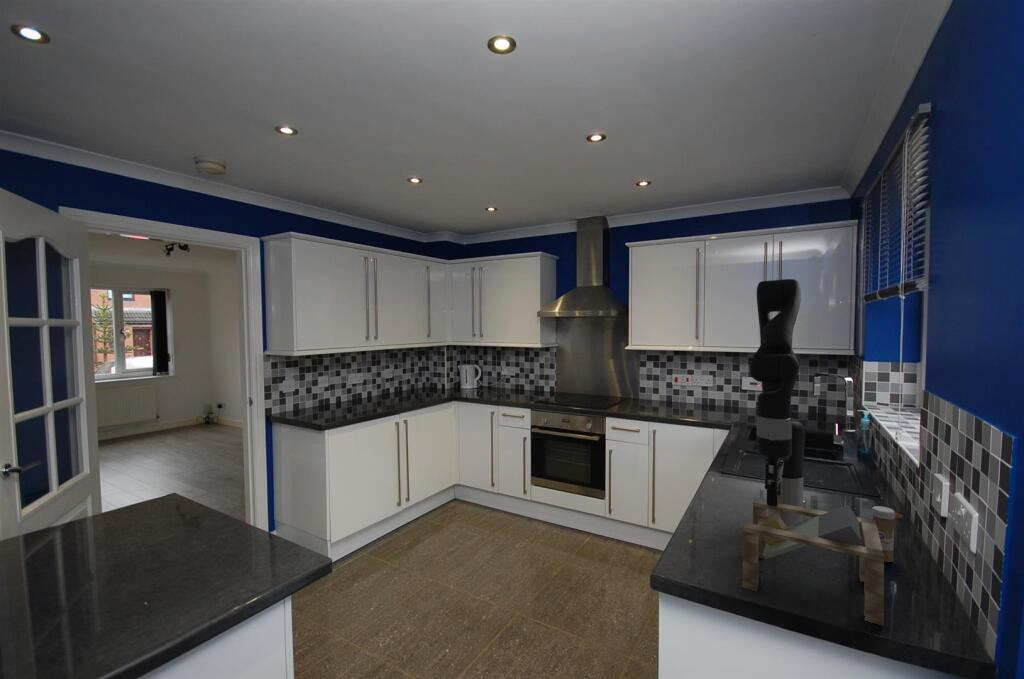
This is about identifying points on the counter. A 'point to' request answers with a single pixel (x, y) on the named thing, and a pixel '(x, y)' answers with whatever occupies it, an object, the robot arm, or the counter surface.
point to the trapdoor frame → (868, 548)
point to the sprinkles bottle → (885, 530)
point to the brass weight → (773, 522)
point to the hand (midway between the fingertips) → (773, 500)
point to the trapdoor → (821, 530)
